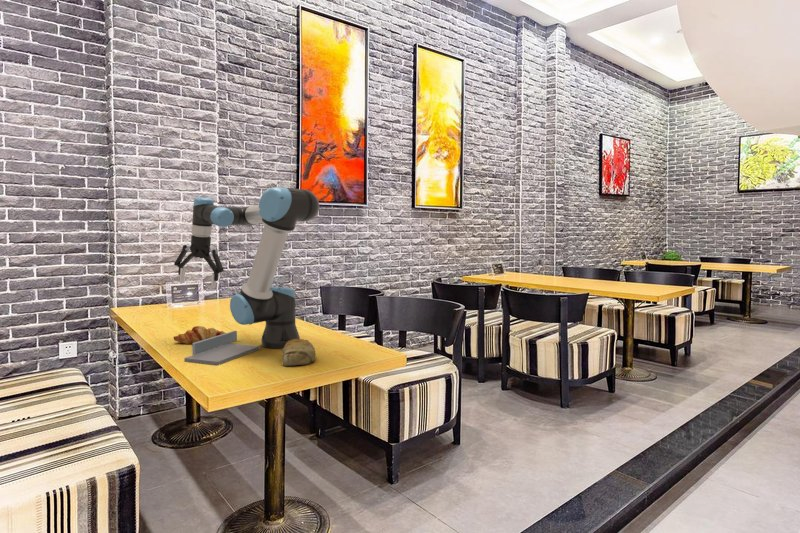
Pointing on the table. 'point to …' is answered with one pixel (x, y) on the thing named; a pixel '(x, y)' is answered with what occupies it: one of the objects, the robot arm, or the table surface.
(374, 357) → the table surface
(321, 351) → the table surface
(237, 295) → the robot arm
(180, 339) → the croissant
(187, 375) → the table surface
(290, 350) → the pastry
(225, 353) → the serving plate
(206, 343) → the divider
